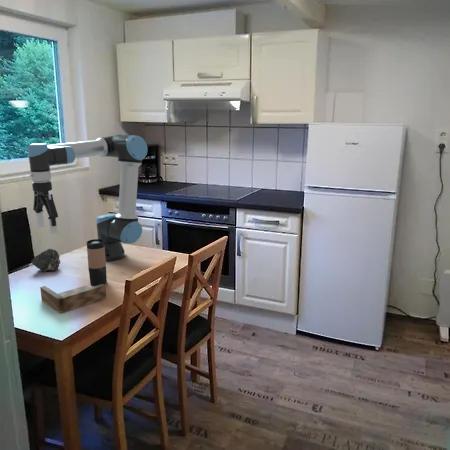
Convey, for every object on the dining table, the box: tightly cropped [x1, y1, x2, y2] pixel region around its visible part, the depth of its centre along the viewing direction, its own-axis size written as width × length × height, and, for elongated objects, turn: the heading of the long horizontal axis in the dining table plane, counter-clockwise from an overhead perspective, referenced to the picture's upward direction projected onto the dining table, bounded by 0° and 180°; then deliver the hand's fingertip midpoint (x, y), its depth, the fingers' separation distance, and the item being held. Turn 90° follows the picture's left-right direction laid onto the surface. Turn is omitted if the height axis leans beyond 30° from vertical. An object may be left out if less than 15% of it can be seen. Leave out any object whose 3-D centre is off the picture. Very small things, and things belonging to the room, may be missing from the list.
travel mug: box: [86, 238, 108, 287], centre depth 196 cm, size 8×8×20 cm
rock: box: [31, 248, 61, 272], centre depth 214 cm, size 12×10×10 cm
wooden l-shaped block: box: [39, 284, 107, 314], centre depth 181 cm, size 20×17×6 cm
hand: (47, 230), depth 188 cm, fingers open, 13 cm apart
